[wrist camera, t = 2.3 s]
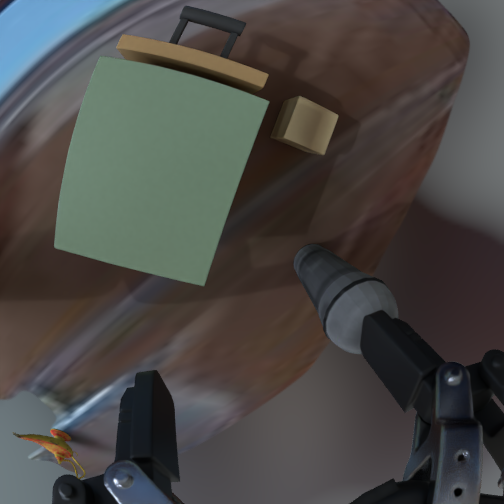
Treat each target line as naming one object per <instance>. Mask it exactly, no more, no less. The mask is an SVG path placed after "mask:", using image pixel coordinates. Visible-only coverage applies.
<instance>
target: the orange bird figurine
mask: <svg viewBox="0 0 504 504" xmlns="http://www.w3.org/2000/svg"><path fill="white" fill-rule="evenodd" d="M50 432H51V434H52V435H53V436H54V437H55V438H54V437H48V436H43V435H35V434H28V435H19V434H16V433H13V434H14V435H15V436H17V437H19V438H22V439H25V440H29V441H33V442H36V443H38V444H40V445H42V446H43V447H45V448H46V449H47V450H49V451H50V452H52V453H54V455H55V457H56V458H57V460H58V463H59V464H61V462H62V461H69V462H71V461H70V460H67V459H65V460H64V458H71V457H72V458H73V459H74V457H73V451H72V449H71V447H70V446H69V445H68V444H67V443H65V441H70V440H71V437H70V436H69V435H68V434H66V433H65V432H63V431H60V430H57V429H51V430H50ZM75 453H76V452H75ZM77 456H78V454H77ZM77 456H76V457H77ZM74 461H75V462H76V463H77V464H78V465H79V466H80V467H81V465H80V464H79V463H78V462H77V461H76V460H75V459H74ZM71 463H72V462H71ZM72 465H73V466H74V469H75V473H76V477H77V478H78V474H77V471H76V468H75V465H74V464H73V463H72ZM81 468H82V467H81ZM82 470H83V471H84V469H83V468H82ZM84 476H85V471H84V475H83V476H82V477H80V478H79V479H81V478H83V477H84Z"/></svg>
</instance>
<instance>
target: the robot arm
mask: <svg viewBox="0 0 504 504" xmlns="http://www.w3.org/2000/svg"><path fill="white" fill-rule="evenodd" d="M360 348H361V352H362V354H363V356H364V358H365V359H366V361H367V362H368V363H369V365H370V366H371V367H372V369H373V370H374V371H375V373H376V374H377V375H378V377H379V378H380V379H381V381H382V382H383V383H384V385H385V386H386V388H387V389H388V390H389V391H390V393H391V394H392V396H393V397H394V398H395V400H396V401H397V403H398V404H399V405H400V407H401V408H402V409H403V411H404V412H407V411H409V410H411V409H412V408H415V410H416V411H417V413H416V416H415V426H414V434H413V442H412V449H411V455H410V458H409V461H408V463H407V465H406V468H405V471H404V475H403V480H402V481H401V482H395V480H394V479H391V480H389V481H388V482H385V483H384V484H382V485H380V486H378V487H376V488H374V489H372V490H370V491H368V492H365V493H364V494H362V495H361V496H359V497H358V498H357V499H355V500H354V501H353V502H351V503H350V504H504V413H503V412H502V411H501V409H500V408H499V407H498V406H497V404H496V403H495V402H494V400H493V399H492V397H493V396H494V394H495V395H496V396H497V398H498V399H499V400H500V401H501V403H502V404H503V405H504V352H502V351H500V350H490V351H488V352H487V353H485V355H484V357H483V359H482V361H481V362H479V363H475V364H472V365H469V366H463V365H462V364H460V363H457V362H445V361H444V360H443V359H442V358H441V357H440V356H439V355H438V354H437V353H436V352H435V351H434V350H433V349H432V348H431V347H430V346H429V345H428V344H427V343H426V342H425V341H424V340H423V339H421V337H420V336H419V335H418V334H417V333H415V331H414V330H413V329H412V328H411V327H410V326H409V325H408V324H407V323H406V322H404V321H402V320H400V319H398V318H393V319H392V318H391V317H390V316H389V315H388V314H387V313H386V312H385V311H383V310H379V311H377V312H374V313H371V314H369V315H366V316H364V318H363V324H362V333H361V340H360ZM483 444H484V445H485V447H486V449H487V450H488V452H489V453H490V454H491V456H492V458H493V459H494V461H495V462H496V464H497V465H498V467H499V469H500V470H501V477H500V479H499V480H498V487H499V488H503V496H497V495H488V494H482V493H480V489H481V477H482V458H483ZM179 481H180V476H179V465H178V454H177V442H176V427H175V409H174V403H173V399H172V396H171V394H170V392H169V391H168V389H167V387H166V385H165V383H164V382H163V380H162V378H161V376H160V374H159V373H158V371H157V370H152V371H146V372H139V373H137V374H136V377H135V386H134V387H131V388H127V389H126V391H125V393H124V395H123V396H122V398H121V403H120V413H119V423H118V431H117V443H116V456H115V461H114V463H112V464H111V465H109V466H108V467H107V469H106V471H105V473H104V474H102V475H100V476H96V477H92V478H89V479H85V480H80V479H79V478H77V477H75V476H73V475H63V476H61V477H59V478H58V479H57V480H56V481H55V483H54V486H53V496H52V497H53V498H52V504H184V503H183V502H182V501H181V500H180V499H179V498H178V497H177V496H176V495H174V493H172V489H171V482H179Z"/></svg>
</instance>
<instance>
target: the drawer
mask: <svg viewBox="0 0 504 504" xmlns="http://www.w3.org/2000/svg"><path fill="white" fill-rule="evenodd" d="M180 19H181V20H180V22H179V24H178V26H177V28H176V30H175V32H174V34H173V36H172V38H171V40H170V42H169V43H168V42H163V41H158V40H153V39H148V38H143V37H137V36H131V35H124V34H123V35H122V37H121V39H120V41H119V43H118V45H117V49H118V50H119V52H120V53H121V54H122V55H123V57H124V58H125V59H126V60H130V61H136V62H141V63H146V64H151V65H155V66H160V67H164V68H168V69H172V70H176V71H180V72H184V73H187V74H191V75H195V76H198V77H201V78H205V79H208V80H211V81H214V82H218V83H221V84H224V85H227V86H230V87H233V88H235V89H238V90H241V91H244V92H247V93H249V94H252V95H253V94H254V93H256V92H257V91H259V90H261V89H262V88H264V85H265V83H266V80H267V78H268V76H269V74H266V73H264V72H261V71H259V70H256V69H254V68H251V67H248V66H246V65H243V64H240V63H237V62H234V61H231V60H228V59H227V58H228V56H229V53H230V51H231V49H232V47H233V45H234V43H235V40H236V38H237V36H240V35H241V33H242V31H243V29H244V27H245V25H246V23H245V22H242V21H239V20H236V19H233V18H230V17H227V16H224V15H220V14H217V13H213V12H210V11H206V10H202V9H198V8H194V7H190V6H185V7H184V8H183V10H182V12H181V15H180ZM188 21H190V22H194V23H198V24H201V25H205V26H209V27H212V28H216V29H219V30H222V31H225V32H228V33H231V34H230V36H229V38H228V41H227V43H226V45H225V47H224V49H223V51H222V53H221V56H220V57H219V56H216V55H213V54H210V53H206V52H203V51H199V50H196V49H192V48H188V47H184V46H180V45H177V43H178V41H179V39H180V37H181V35H182V33H183V31H184V29H185V27H186V25H187V23H188Z"/></svg>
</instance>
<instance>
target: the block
mask: <svg viewBox="0 0 504 504" xmlns="http://www.w3.org/2000/svg"><path fill="white" fill-rule="evenodd" d="M338 116H339V115H337V114H335V113H333V112H332V111H330V110H328V109H326V108H324V107H322V106H320V105H318V104H316V103H314V102H312V101H310V100H308V99H306V98H304V97H301V96H297V97H294V98H291V99H288V100H285V101H284V102H283V105H282V108H281V110H280V113H279V115H278V118H277V121H276V123H275V126H274V128H273V131H272V134H271V136H270V138H273V139H275V140H278V141H280V142H283V143H285V144H288V145H290V146H292V147H295V148H297V149H300V150H302V151H304V152H308V153H314V154H319V155H324V154H325V152H326V149H327V146H328V144H329V141H330V138H331V135H332V133H333V130H334V127H335V125H336V122H337V119H338Z"/></svg>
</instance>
